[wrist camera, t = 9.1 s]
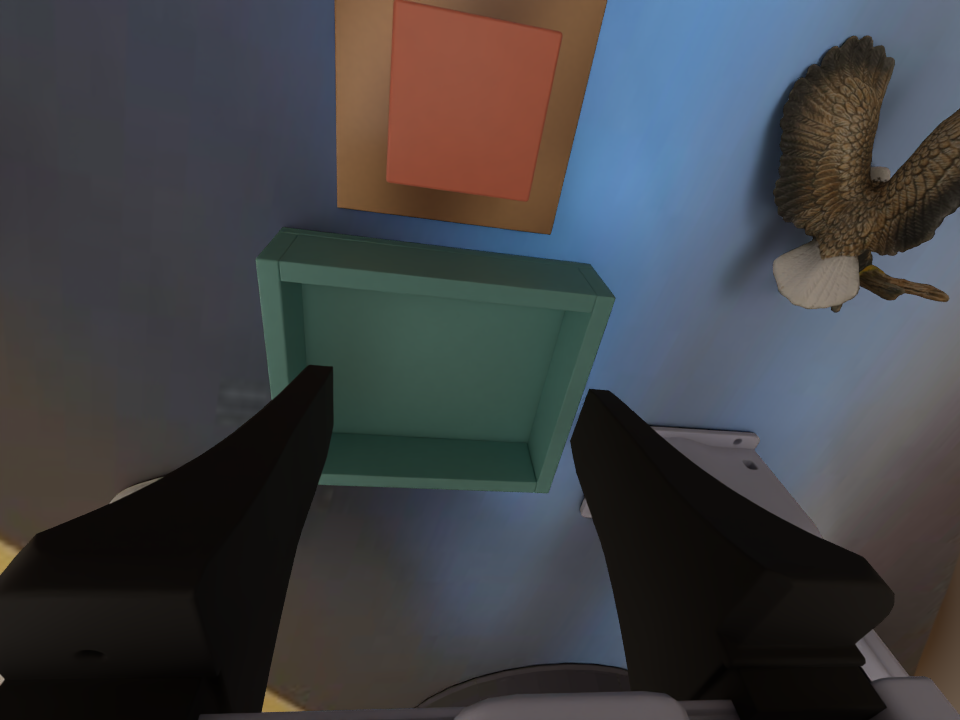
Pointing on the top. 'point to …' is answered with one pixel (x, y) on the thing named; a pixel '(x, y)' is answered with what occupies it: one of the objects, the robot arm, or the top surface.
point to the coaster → (365, 112)
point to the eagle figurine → (855, 183)
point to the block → (467, 100)
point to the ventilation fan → (533, 683)
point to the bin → (434, 356)
